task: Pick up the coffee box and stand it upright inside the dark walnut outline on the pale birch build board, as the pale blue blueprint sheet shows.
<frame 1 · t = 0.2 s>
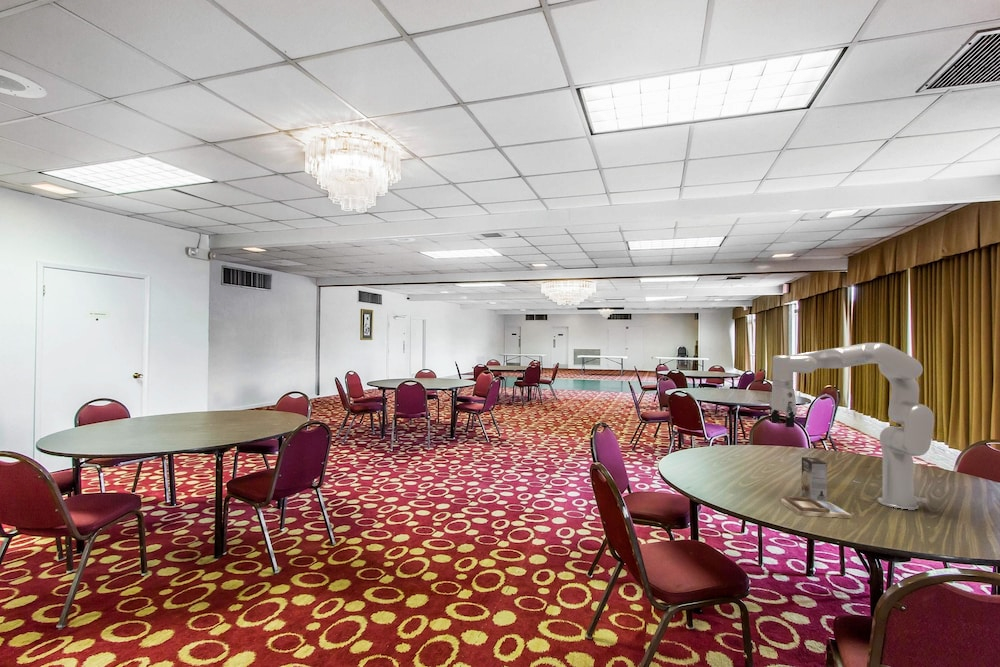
hand: (782, 424, 192), 31 cm above the table, tool pointing down, fingers open, 9 cm apart
coffee box: (813, 498, 192), on the table
build board: (814, 510, 177), on the table
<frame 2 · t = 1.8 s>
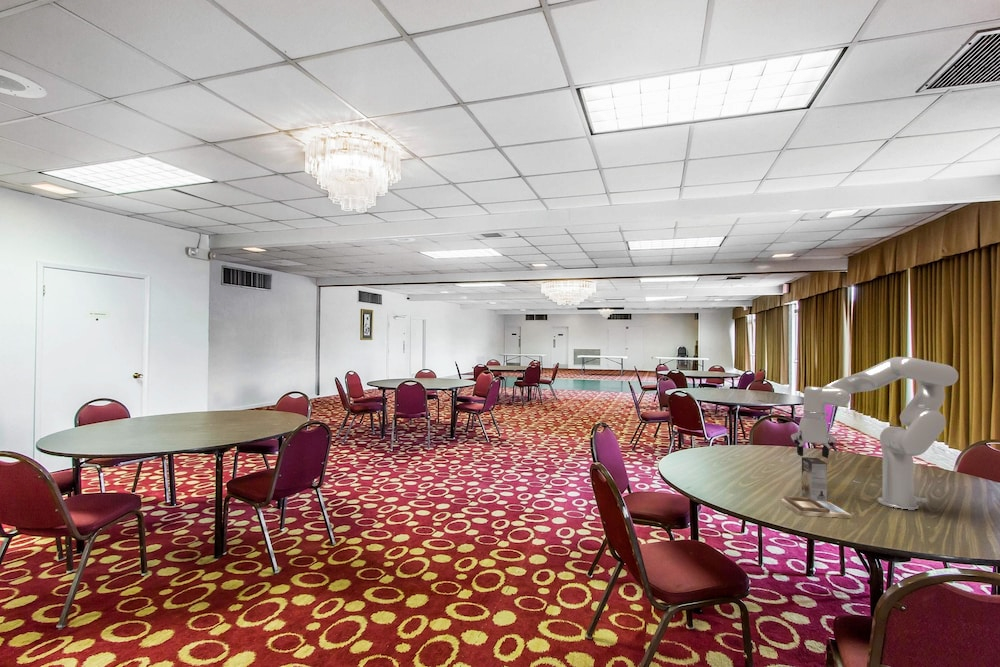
hand: (812, 456, 192), 17 cm above the table, tool pointing down, fingers open, 9 cm apart
nothing on the table moved.
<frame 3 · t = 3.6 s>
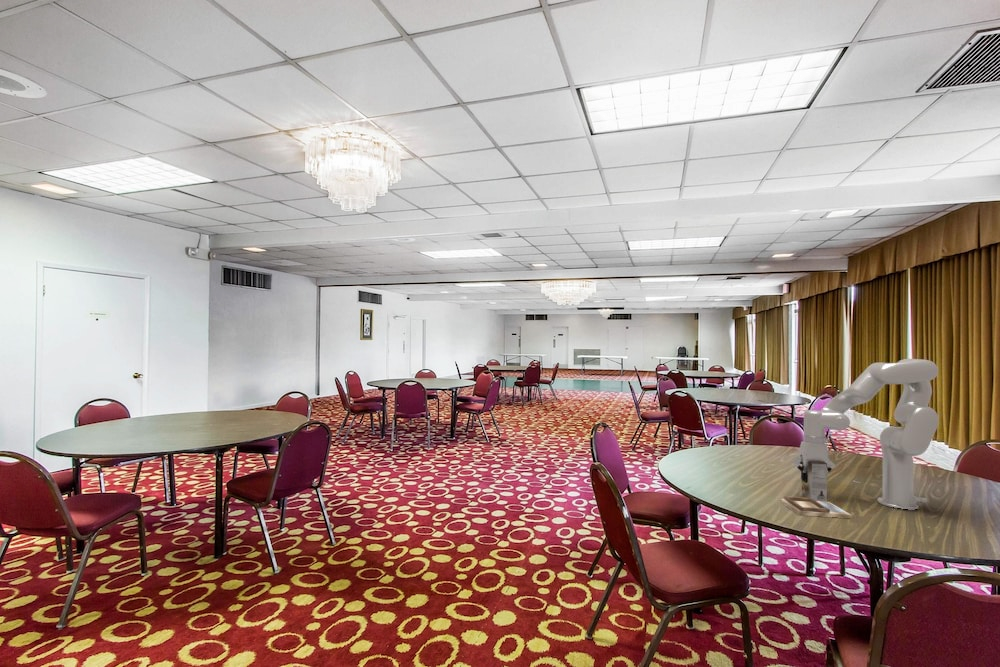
hand: (813, 481, 192), 7 cm above the table, tool pointing down, fingers closed on coffee box, 6 cm apart
coffee box: (813, 498, 192), on the table, touching gripper
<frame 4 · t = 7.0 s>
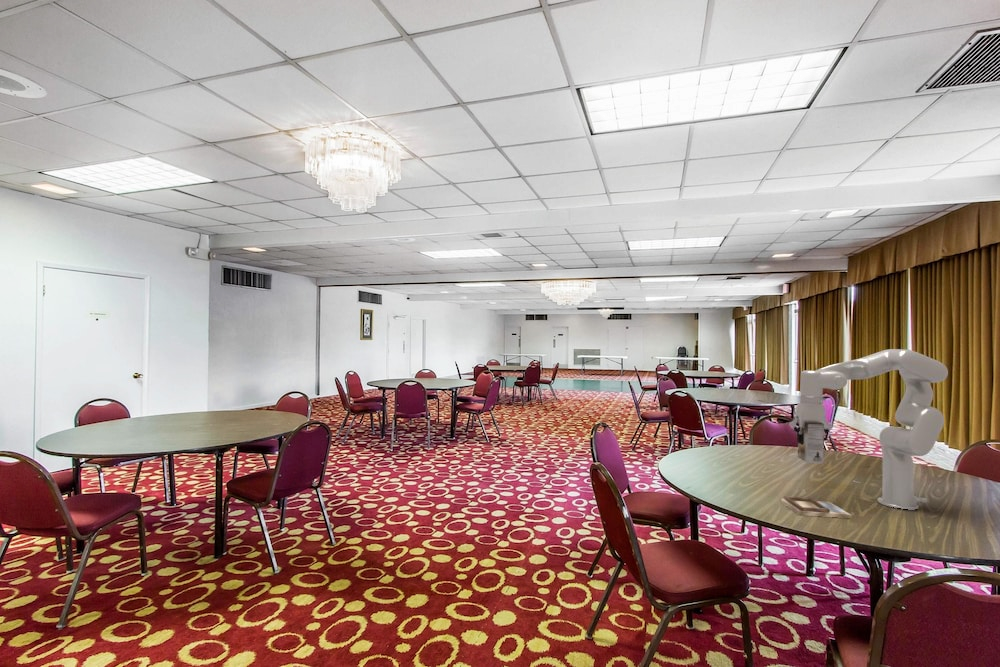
hand: (810, 443, 186), 24 cm above the table, tool pointing down, fingers closed on coffee box, 6 cm apart
coffee box: (810, 460, 186), point 17 cm above the table, touching gripper
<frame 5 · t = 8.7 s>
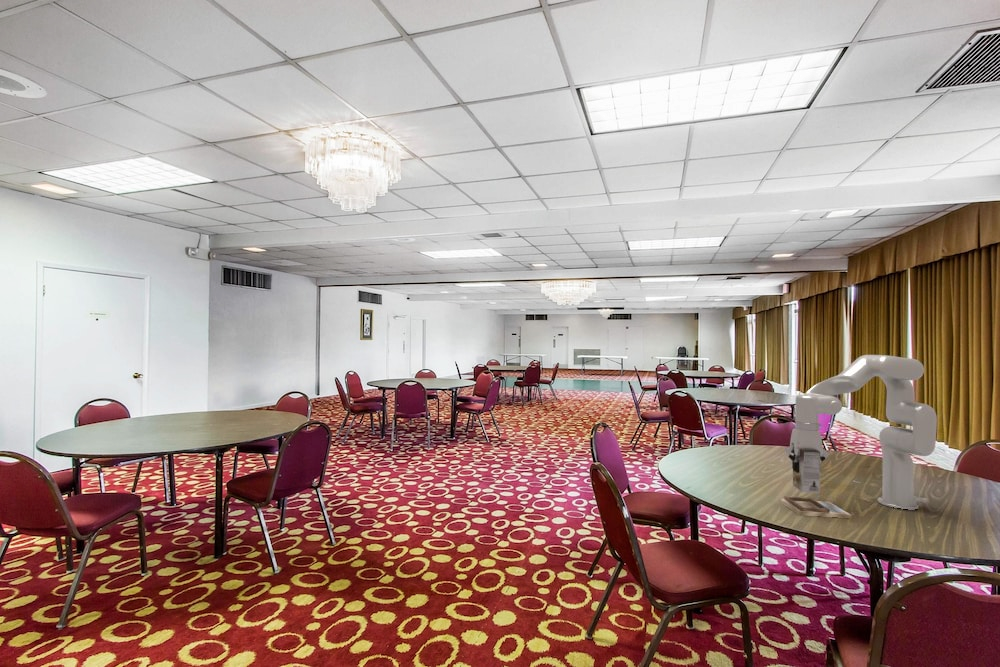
hand: (806, 472, 178), 15 cm above the table, tool pointing down, fingers closed on coffee box, 6 cm apart
coffee box: (805, 489, 178), point 8 cm above the table, touching gripper
when the fingers open (9 cm above the table, at t = 10.4 s): coffee box drops 1 cm, resting on build board.
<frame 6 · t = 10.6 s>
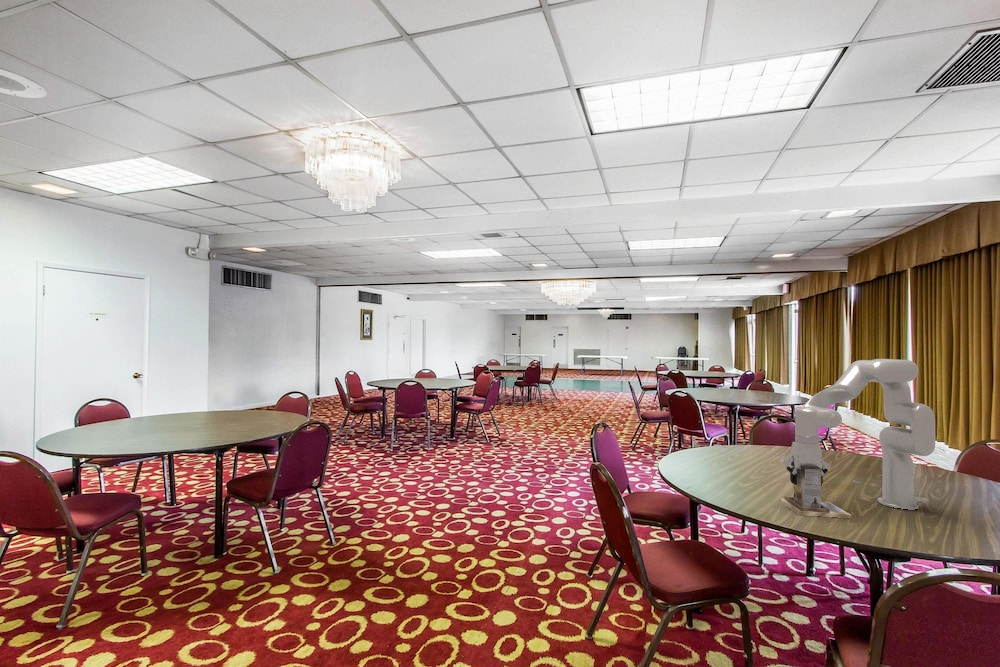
hand: (806, 484, 178), 10 cm above the table, tool pointing down, fingers open, 8 cm apart
coffee box: (806, 506, 178), point 1 cm above the table, touching build board
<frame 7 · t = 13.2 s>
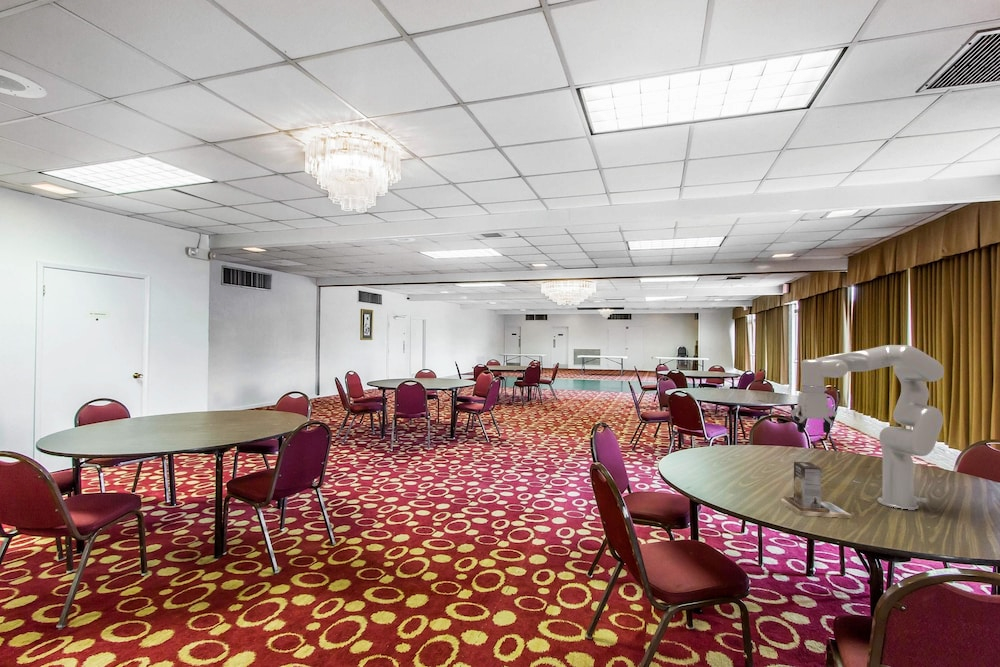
hand: (813, 432, 183), 29 cm above the table, tool pointing down, fingers open, 9 cm apart
nothing on the table moved.
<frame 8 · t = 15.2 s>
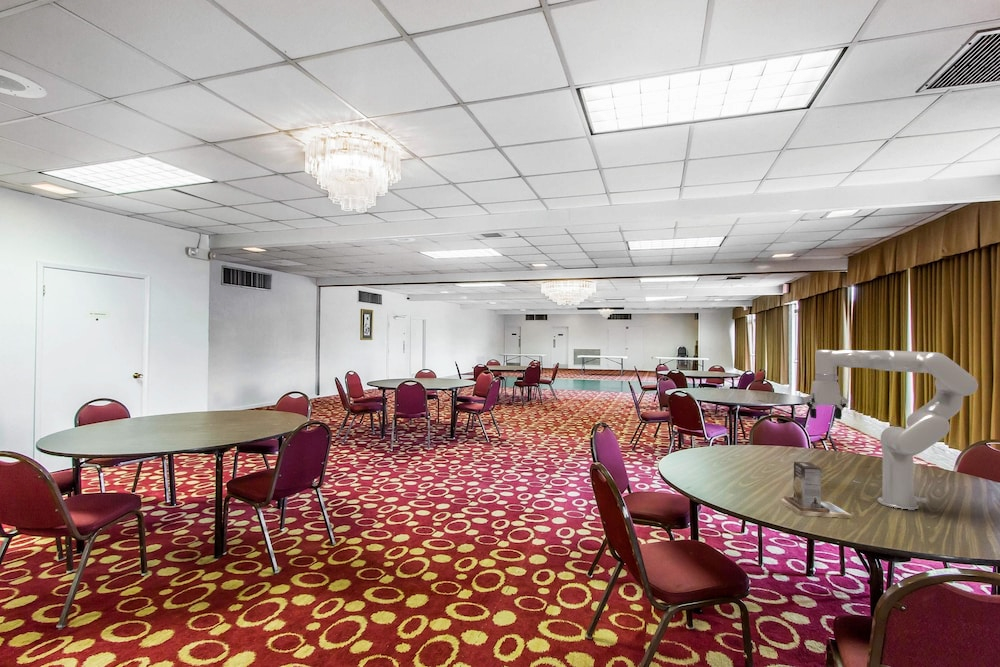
hand: (825, 418, 195), 33 cm above the table, tool pointing down, fingers open, 9 cm apart
nothing on the table moved.
at the end: coffee box 0.3 cm from the target spot on the build board, point 1.3 cm above the build board's base; coffee box tilted 0°; the gripper is holding nothing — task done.
